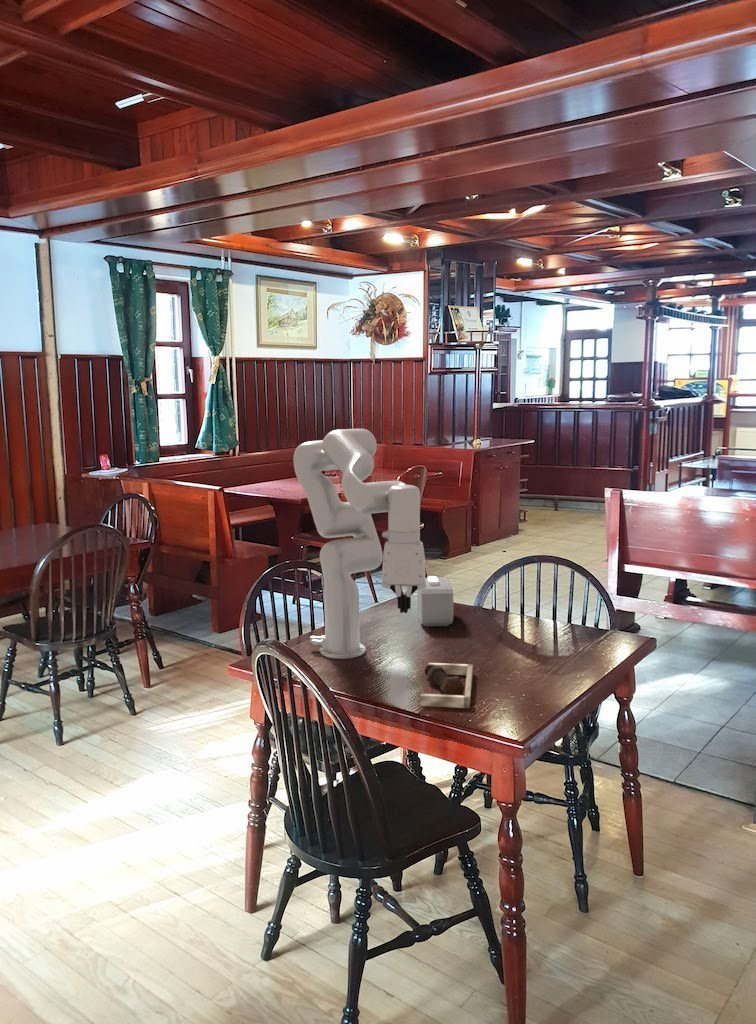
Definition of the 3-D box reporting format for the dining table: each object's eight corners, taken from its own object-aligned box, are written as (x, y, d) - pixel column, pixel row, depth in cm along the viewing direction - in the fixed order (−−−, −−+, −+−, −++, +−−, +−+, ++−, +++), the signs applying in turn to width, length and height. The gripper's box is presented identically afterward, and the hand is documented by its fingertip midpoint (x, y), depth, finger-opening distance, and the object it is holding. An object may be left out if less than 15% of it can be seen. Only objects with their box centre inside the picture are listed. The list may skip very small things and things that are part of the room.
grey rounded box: (453, 630, 245) (453, 587, 243) (421, 630, 245) (421, 587, 243) (446, 611, 266) (446, 571, 264) (417, 611, 266) (417, 571, 263)
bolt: (432, 684, 207) (457, 704, 193) (416, 676, 206) (439, 696, 192) (443, 663, 208) (468, 681, 193) (426, 656, 206) (450, 674, 192)
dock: (420, 705, 189) (420, 695, 188) (428, 671, 210) (428, 662, 210) (469, 708, 187) (469, 697, 187) (472, 673, 209) (472, 664, 208)
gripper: (370, 539, 192) (371, 614, 195) (434, 540, 190) (433, 617, 193) (375, 533, 199) (376, 606, 202) (436, 534, 197) (436, 608, 200)
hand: (404, 611), depth 198 cm, fingers closed
